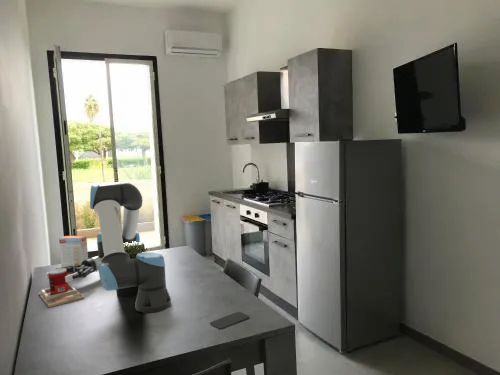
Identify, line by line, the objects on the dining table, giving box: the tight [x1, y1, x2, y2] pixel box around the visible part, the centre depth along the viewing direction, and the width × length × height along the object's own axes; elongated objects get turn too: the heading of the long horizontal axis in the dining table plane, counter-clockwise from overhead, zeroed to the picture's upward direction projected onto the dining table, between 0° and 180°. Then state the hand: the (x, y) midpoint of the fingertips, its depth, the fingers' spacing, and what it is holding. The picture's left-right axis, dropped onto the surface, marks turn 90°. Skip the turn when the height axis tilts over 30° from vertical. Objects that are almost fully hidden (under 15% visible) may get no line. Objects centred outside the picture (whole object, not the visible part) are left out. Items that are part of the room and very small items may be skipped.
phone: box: [209, 311, 250, 330], centre depth 155 cm, size 7×1×15 cm
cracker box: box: [58, 235, 89, 275], centre depth 225 cm, size 14×6×21 cm, turn 77°
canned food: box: [48, 267, 69, 295], centre depth 190 cm, size 8×8×11 cm
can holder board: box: [38, 283, 85, 309], centre depth 188 cm, size 22×15×2 cm
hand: (56, 277), depth 189 cm, fingers open, 13 cm apart
